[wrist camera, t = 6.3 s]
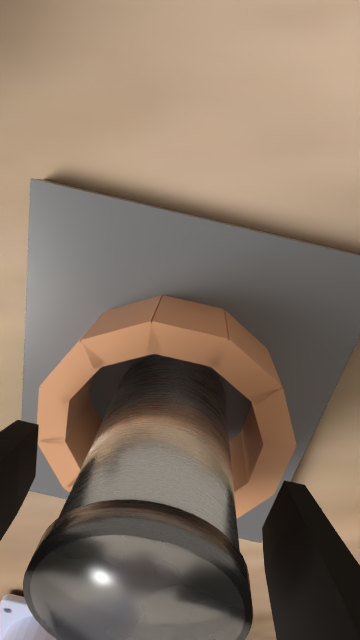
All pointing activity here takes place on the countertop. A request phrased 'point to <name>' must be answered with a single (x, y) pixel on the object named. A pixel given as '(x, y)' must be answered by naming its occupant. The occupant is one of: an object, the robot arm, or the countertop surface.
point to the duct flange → (180, 329)
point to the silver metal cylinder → (149, 520)
